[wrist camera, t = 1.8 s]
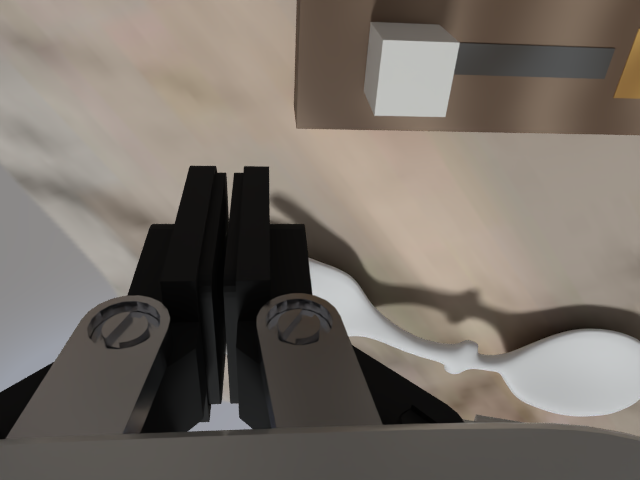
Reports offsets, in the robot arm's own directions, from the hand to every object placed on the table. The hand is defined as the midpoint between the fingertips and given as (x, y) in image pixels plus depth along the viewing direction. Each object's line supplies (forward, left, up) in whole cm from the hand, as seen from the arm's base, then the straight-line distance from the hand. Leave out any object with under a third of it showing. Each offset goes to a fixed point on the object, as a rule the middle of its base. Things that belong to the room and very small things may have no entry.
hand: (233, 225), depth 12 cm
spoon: (-14, +20, -17) cm, 30 cm away
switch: (-7, 0, -14) cm, 15 cm away
